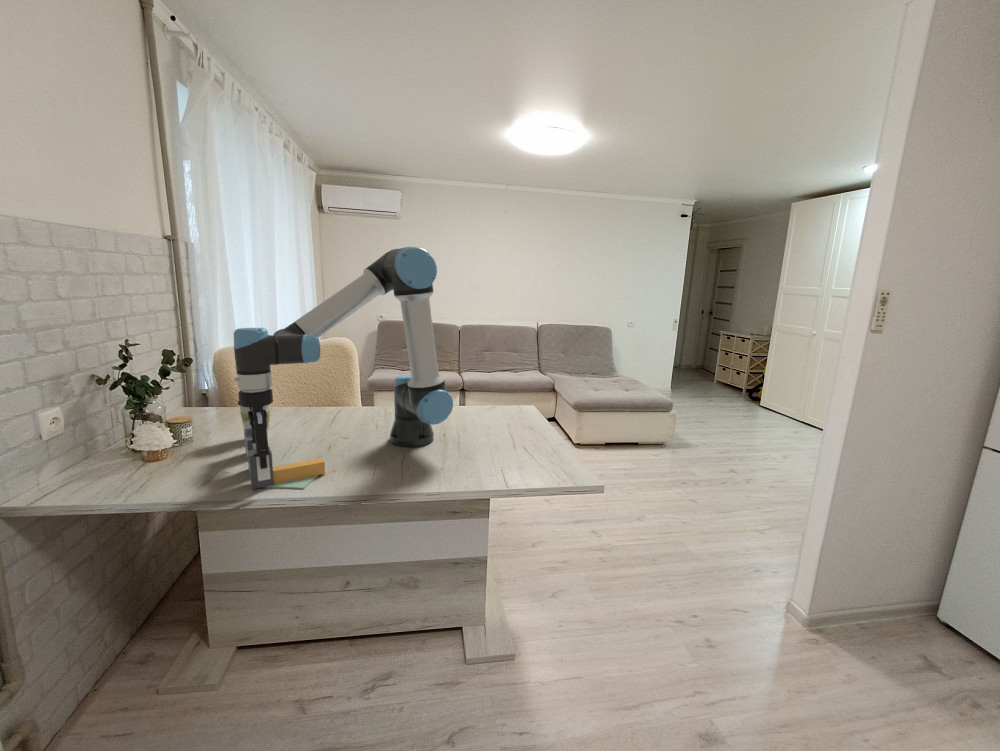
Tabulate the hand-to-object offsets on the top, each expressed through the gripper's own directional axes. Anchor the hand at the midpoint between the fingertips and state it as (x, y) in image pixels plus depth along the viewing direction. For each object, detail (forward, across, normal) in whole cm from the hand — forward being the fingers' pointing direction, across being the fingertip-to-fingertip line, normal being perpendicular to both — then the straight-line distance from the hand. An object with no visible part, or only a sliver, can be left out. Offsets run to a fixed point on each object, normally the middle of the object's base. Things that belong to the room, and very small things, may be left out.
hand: (262, 472), depth 112 cm
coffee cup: (+3, -41, +2) cm, 41 cm away
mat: (+4, -1, +6) cm, 8 cm away
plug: (+4, -1, +6) cm, 7 cm away
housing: (+3, -18, 0) cm, 19 cm away
